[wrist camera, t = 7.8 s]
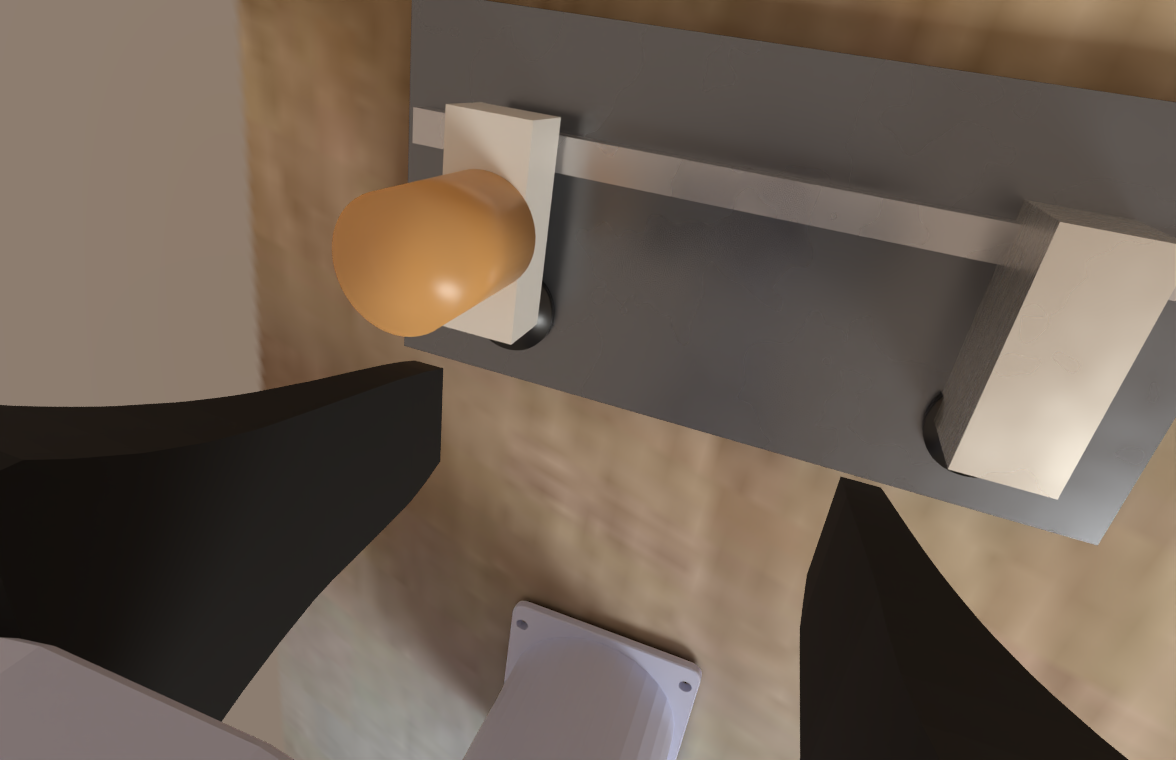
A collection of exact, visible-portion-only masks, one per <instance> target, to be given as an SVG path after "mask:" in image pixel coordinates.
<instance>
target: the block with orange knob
mask: <svg viewBox="0 0 1176 760" xmlns="http://www.w3.org/2000/svg"><path fill="white" fill-rule="evenodd" d="M560 122H561V117H557V116H552V115H546V114H541V113H536V112H530V111H525V110H520V109H514V108H509V107H504V106H498V105H493V104H487V103H482V102H474V103H455V104H446V108H445V131H444V153H443V175H441V176H436V177H432V178H428V179H423V180H419V181H415V182H410V183H406V184H402V185H397V186H393V187H389V188H384V189H380V190H376V191H371V192H368V193H365V194H362V195H361V196H359V197H357V198H355V199H354V200H353V201H352V202H350V203H349V204H348V205H347V207H346V208H345V209H344V210H343V212H342V213H341V215H340V216H339V218H338V221H337V223H336V226H335V229H334V233H333V240H332V257H333V263H334V269H335V272H336V275H337V278H338V281H339V283H340V286H341V288H342V290H343V292H344V293H345V295H346V297H347V298H348V300H349V301H350V303H351V304H352V305H353V307H354V308H355V309H356V310H357V311H358V312H359V313H360V314H361V315H362V316H363V317H364V318H365V319H366V320H368V321H369V322H370V323H371V324H373V325H374V326H376V327H378V328H379V329H381V330H383V331H385V332H388V333H391V334H394V335H398V336H404V337H416V336H422V335H426V334H428V333H431V332H433V331H435V330H436V329H438V328H440V327H441V326H445V327H448V328H452V329H456V330H459V331H463V332H466V333H470V334H474V335H477V336H481V337H484V338H488V339H492V340H495V341H499V342H503V343H506V344H510V345H512V344H513V343H514V342H515V341H517V340H518V339H519V338H520V337H522V336H523V335H524V334H525V333H527V332H528V331H529V330H530V329H532V328H533V327H534V326H535V325H537V321H538V312H539V303H540V295H541V286H542V277H543V269H544V260H545V251H546V243H547V234H548V226H549V217H550V208H551V200H552V191H553V182H554V174H555V165H556V156H557V148H558V139H559V131H560Z"/></svg>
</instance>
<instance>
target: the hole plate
mask: <svg viewBox="0 0 1176 760" xmlns="http://www.w3.org/2000/svg"><path fill="white" fill-rule="evenodd" d="M474 102H482V103H487V104H493V105H498V106H504V107H509V108H514V109H520V110H525V111H530V112H536V113H541V114H546V115H552V116H557V117H561V122H560V131H559V139H558V148H557V156H556V165H555V174H554V182H553V191H552V200H551V208H550V217H549V226H548V234H547V243H546V251H545V260H544V269H543V277H542V286H541V295H540V303H539V312H538V321H537V325H535V326H534V327H533V328H532V329H530V330H529V331H528V332H527V333H525V334H524V335H523V336H522V337H520V338H519V339H518V340H517V341H515V342H514V343H513V344H512V345H510V344H506V343H503V342H499V341H495V340H492V339H488V338H484V337H481V336H477V335H474V334H470V333H466V332H463V331H459V330H456V329H452V328H448V327H445V326H441V327H440V328H438V329H436V330H435V331H433V332H431V333H428V334H426V335H422V336H416V337H405V339H404V346H407V347H411V348H414V349H417V350H421V351H424V352H428V353H431V354H435V355H438V356H442V357H445V358H449V359H452V360H456V361H459V362H463V363H466V364H470V365H473V366H477V367H480V368H483V369H487V370H490V371H494V372H497V373H501V374H504V375H508V376H511V377H515V378H518V379H522V380H525V381H529V382H532V383H536V384H539V385H542V386H546V387H549V388H553V389H556V390H560V391H563V392H567V393H570V394H574V395H577V396H581V397H584V398H588V399H591V400H595V401H598V402H601V403H605V404H608V405H612V406H615V407H619V408H622V409H626V410H629V411H633V412H636V413H640V414H643V415H647V416H650V417H654V418H657V419H660V420H664V421H667V422H671V423H674V424H678V425H681V426H685V427H688V428H692V429H695V430H699V431H702V432H706V433H709V434H713V435H716V436H720V437H723V438H726V439H730V440H733V441H737V442H740V443H744V444H747V445H751V446H754V447H758V448H761V449H765V450H768V451H772V452H775V453H779V454H782V455H785V456H789V457H792V458H796V459H799V460H803V461H806V462H810V463H813V464H817V465H820V466H824V467H827V468H831V469H834V470H838V471H841V472H844V473H848V474H851V475H855V476H858V477H862V478H865V479H869V480H872V481H876V482H879V483H883V484H886V485H890V486H893V487H897V488H900V489H903V490H907V491H910V492H914V493H917V494H921V495H924V496H928V497H931V498H935V499H938V500H942V501H945V502H949V503H952V504H956V505H959V506H963V507H966V508H969V509H973V510H976V511H980V512H983V513H987V514H990V515H994V516H997V517H1001V518H1004V519H1008V520H1011V521H1015V522H1018V523H1022V524H1025V525H1028V526H1032V527H1035V528H1039V529H1042V530H1046V531H1049V532H1053V533H1056V534H1060V535H1063V536H1067V537H1070V538H1074V539H1077V540H1081V541H1084V542H1087V543H1091V544H1094V545H1098V544H1099V542H1100V541H1101V539H1102V537H1103V536H1104V534H1105V532H1106V531H1107V529H1108V527H1109V526H1110V524H1111V523H1112V521H1113V519H1114V518H1115V516H1116V514H1117V513H1118V511H1119V509H1120V508H1121V506H1122V504H1123V503H1124V501H1125V500H1126V498H1127V496H1128V495H1129V493H1130V491H1131V490H1132V488H1133V486H1134V485H1135V483H1136V481H1137V480H1138V478H1139V477H1140V475H1141V473H1142V472H1143V470H1144V468H1145V467H1146V465H1147V463H1148V462H1149V460H1150V458H1151V457H1152V455H1153V454H1154V452H1155V450H1156V449H1157V447H1158V445H1159V444H1160V442H1161V440H1162V439H1163V437H1164V435H1165V434H1166V432H1167V431H1168V429H1169V427H1170V426H1171V424H1172V422H1173V421H1174V419H1175V417H1176V102H1170V101H1163V100H1157V99H1150V98H1143V97H1136V96H1129V95H1123V94H1116V93H1109V92H1102V91H1096V90H1089V89H1082V88H1075V87H1068V86H1062V85H1055V84H1048V83H1041V82H1035V81H1028V80H1021V79H1014V78H1007V77H1001V76H994V75H987V74H980V73H974V72H967V71H960V70H953V69H946V68H940V67H933V66H926V65H919V64H913V63H906V62H899V61H892V60H885V59H879V58H872V57H865V56H858V55H852V54H845V53H838V52H831V51H824V50H818V49H811V48H804V47H797V46H791V45H784V44H777V43H770V42H763V41H757V40H750V39H743V38H736V37H730V36H723V35H716V34H709V33H703V32H696V31H689V30H682V29H675V28H669V27H662V26H655V25H648V24H642V23H635V22H628V21H621V20H614V19H608V18H601V17H594V16H587V15H581V14H574V13H567V12H560V11H553V10H547V9H540V8H533V7H526V6H520V5H513V4H506V3H499V2H492V1H486V0H412V20H411V65H410V111H409V157H408V183H410V182H415V181H419V180H423V179H428V178H432V177H436V176H441V175H443V153H444V131H445V108H446V104H455V103H474Z"/></svg>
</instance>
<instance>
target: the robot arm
mask: <svg viewBox="0 0 1176 760" xmlns="http://www.w3.org/2000/svg"><path fill="white" fill-rule="evenodd" d="M442 389H443V368H440V367H436V366H432V365H429V364H425V363H421V362H418V361H405V362H398V363H392V364H386V365H381V366H376V367H372V368H367V369H363V370H358V371H354V372H349V373H345V374H341V375H336V376H332V377H327V378H323V379H319V380H314V381H310V382H305V383H299V384H294V385H289V386H284V387H279V388H274V389H269V390H264V391H259V392H254V393H247V394H241V395H235V396H228V397H221V398H212V399H204V400H195V401H187V402H176V403H161V404H144V405H127V406H108V407H107V406H106V407H33V406H7V405H0V760H294V759H293V758H291V757H289V756H288V755H286V754H285V753H283V752H282V751H280V750H279V749H277V748H276V747H274V746H273V745H271V744H269V743H267V742H264V741H262V740H260V739H258V738H256V737H254V736H251V735H249V734H247V733H245V732H243V731H240V730H238V729H236V728H234V727H232V726H229V725H227V724H225V723H223V722H222V720H223V719H224V717H225V716H226V714H227V713H228V712H229V710H230V709H231V707H232V706H233V705H234V703H235V702H236V700H237V699H238V697H239V696H240V695H241V693H242V692H243V690H244V689H245V688H246V686H247V685H248V684H249V682H250V681H251V680H252V678H253V677H254V676H255V674H256V673H257V672H258V671H259V669H260V668H261V667H262V665H263V664H264V663H265V661H266V660H267V659H268V657H269V656H270V655H271V653H272V652H273V651H274V649H275V648H276V647H277V645H278V644H279V643H280V642H281V640H282V639H283V638H284V637H285V635H286V634H287V633H288V632H289V630H290V629H291V628H292V627H293V625H294V624H295V623H296V622H297V620H298V619H299V618H300V617H301V616H302V614H303V613H304V612H305V611H306V609H307V608H308V607H309V606H310V604H311V603H312V602H313V601H314V600H315V598H316V597H317V596H318V595H319V594H320V593H321V592H322V591H323V590H324V589H325V588H326V586H327V585H328V584H329V583H330V582H331V581H332V580H333V579H334V578H335V577H336V576H337V575H338V574H339V573H340V572H341V571H342V570H343V569H344V568H345V567H346V566H347V565H348V564H349V563H350V562H351V561H352V560H353V559H354V558H355V557H356V556H357V555H358V554H359V553H360V552H361V551H362V550H363V549H364V548H365V547H366V546H367V545H368V544H369V543H370V542H371V541H372V540H373V539H374V538H375V537H376V536H377V535H378V534H379V533H380V532H381V531H382V530H383V529H384V528H385V527H386V526H387V525H388V524H389V523H390V522H391V521H392V520H393V519H394V518H395V517H396V516H397V515H398V514H399V513H400V512H401V511H402V510H403V509H404V508H405V507H406V506H407V505H408V504H409V502H410V501H411V500H412V499H413V498H414V496H415V495H416V494H417V493H418V491H419V490H420V489H421V487H422V486H423V485H424V483H425V482H426V481H427V479H428V478H429V476H430V475H431V474H432V472H433V471H434V469H435V468H436V466H437V465H438V464H439V462H440V450H441V420H442ZM522 620H523V621H525V622H526V623H525V622H523V621H522ZM701 677H702V671H701V669H700V668H699V667H698V666H697V665H696V664H694V663H693V662H690V661H687V660H685V659H682V658H679V657H677V656H674V655H671V654H669V653H666V652H663V651H660V650H658V649H655V648H652V647H650V646H647V645H644V644H642V643H639V642H636V641H634V640H631V639H628V638H625V637H623V636H620V635H617V634H615V633H612V632H609V631H607V630H604V629H601V628H598V627H596V626H593V625H590V624H588V623H585V622H582V621H580V620H577V619H574V618H571V617H569V616H566V615H563V614H561V613H558V612H555V611H553V610H550V609H547V608H544V607H542V606H539V605H536V604H534V603H531V602H528V601H519V602H518V603H517V604H516V606H515V607H514V609H513V613H512V622H511V630H510V638H509V646H508V654H507V662H506V670H505V678H504V686H503V688H502V690H501V691H500V693H499V695H498V697H497V699H496V700H495V702H494V704H493V706H492V708H491V709H490V711H489V713H488V715H487V717H486V718H485V720H484V722H483V724H482V726H481V727H480V729H479V731H478V733H477V735H476V736H475V738H474V740H473V742H472V744H471V745H470V747H469V749H468V751H467V753H466V754H465V756H464V758H463V760H676V758H677V755H678V752H679V749H680V746H681V742H682V739H683V736H684V733H685V729H686V726H687V723H688V720H689V717H690V713H691V710H692V707H693V704H694V700H695V697H696V694H697V691H698V688H699V684H700V681H701ZM682 681H684V682H687V683H689V684H685V683H684V682H682ZM800 760H1128V759H1127V758H1126V757H1124V756H1123V755H1122V754H1121V753H1119V752H1118V751H1117V750H1116V749H1115V748H1113V747H1112V746H1111V745H1110V744H1108V743H1107V742H1106V741H1105V740H1104V739H1102V738H1101V737H1100V736H1099V735H1098V734H1096V733H1095V732H1094V731H1093V730H1092V729H1091V728H1090V727H1088V726H1087V725H1086V724H1085V723H1084V722H1083V721H1082V720H1081V719H1079V718H1078V717H1077V716H1076V715H1075V714H1074V713H1073V712H1071V711H1070V710H1069V709H1068V708H1067V707H1066V706H1065V705H1064V704H1062V703H1061V702H1060V701H1059V700H1058V699H1057V698H1056V697H1054V696H1053V695H1052V694H1051V693H1050V692H1049V691H1048V690H1047V689H1046V688H1045V687H1044V686H1043V685H1042V684H1041V683H1040V682H1038V681H1037V680H1036V679H1035V678H1034V677H1033V676H1032V675H1031V674H1030V673H1029V672H1028V671H1027V670H1026V669H1025V668H1024V667H1023V666H1022V665H1021V664H1020V663H1019V662H1018V661H1017V660H1016V659H1015V658H1014V657H1013V656H1012V655H1011V654H1010V653H1009V651H1008V650H1007V649H1006V648H1005V647H1004V646H1003V645H1002V644H1001V643H1000V642H999V641H998V640H997V639H996V638H995V637H994V636H993V635H992V634H991V633H990V632H989V631H988V629H987V628H986V627H985V626H984V625H983V624H982V623H981V622H980V621H979V619H978V618H977V617H976V616H975V615H974V614H973V612H972V611H971V610H970V609H969V608H968V606H967V605H966V604H965V603H964V602H963V600H962V599H961V598H960V597H959V596H958V594H957V593H956V592H955V591H954V590H953V588H952V587H951V586H950V585H949V583H948V582H947V581H946V579H945V578H944V577H943V576H942V574H941V573H940V572H939V570H938V569H937V568H936V566H935V565H934V564H933V562H932V561H931V560H930V558H929V557H928V556H927V554H926V553H925V551H924V550H923V549H922V547H921V546H920V544H919V543H918V542H917V540H916V539H915V537H914V536H913V534H912V533H911V531H910V530H909V529H908V527H907V526H906V524H905V523H904V521H903V520H902V518H901V517H900V515H899V514H898V512H897V511H896V509H895V508H894V506H893V505H892V503H891V502H890V500H889V499H888V497H887V496H886V494H885V493H884V492H883V490H882V489H881V488H880V487H877V486H873V485H869V484H866V483H862V482H858V481H855V480H851V479H847V478H844V477H840V480H839V483H838V486H837V489H836V492H835V495H834V498H833V501H832V504H831V507H830V509H829V512H828V515H827V518H826V521H825V524H824V527H823V530H822V533H821V536H820V539H819V541H818V544H817V547H816V550H815V553H814V556H813V559H812V562H811V565H810V568H809V571H808V573H807V579H806V586H805V593H804V600H803V608H802V616H801V624H800Z"/></svg>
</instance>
